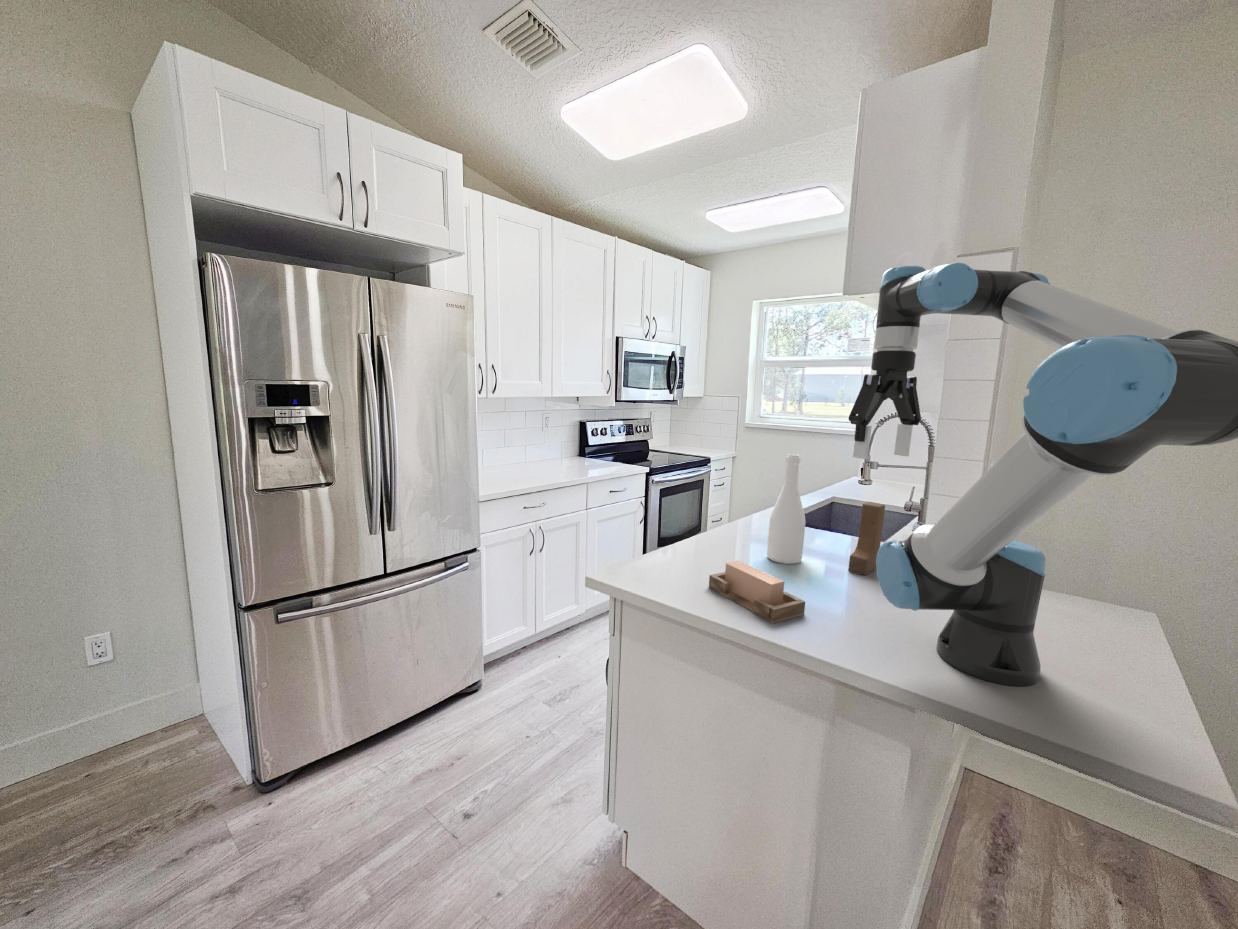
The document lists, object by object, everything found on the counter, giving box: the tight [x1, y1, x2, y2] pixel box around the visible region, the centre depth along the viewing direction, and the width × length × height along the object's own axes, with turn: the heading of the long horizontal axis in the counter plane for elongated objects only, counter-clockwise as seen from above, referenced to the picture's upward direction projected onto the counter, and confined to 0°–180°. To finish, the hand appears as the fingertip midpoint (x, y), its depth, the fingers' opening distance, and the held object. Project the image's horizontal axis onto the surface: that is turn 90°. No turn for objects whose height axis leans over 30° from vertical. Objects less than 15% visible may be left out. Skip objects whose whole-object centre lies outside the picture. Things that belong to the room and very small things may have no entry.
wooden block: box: [848, 501, 886, 576], centre depth 135 cm, size 9×4×18 cm, turn 133°
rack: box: [708, 571, 806, 624], centre depth 114 cm, size 20×9×3 cm, turn 29°
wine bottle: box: [766, 453, 807, 565], centre depth 140 cm, size 10×10×30 cm
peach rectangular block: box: [724, 560, 785, 606], centre depth 114 cm, size 14×4×6 cm, turn 31°
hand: (881, 456), depth 103 cm, fingers open, 13 cm apart
